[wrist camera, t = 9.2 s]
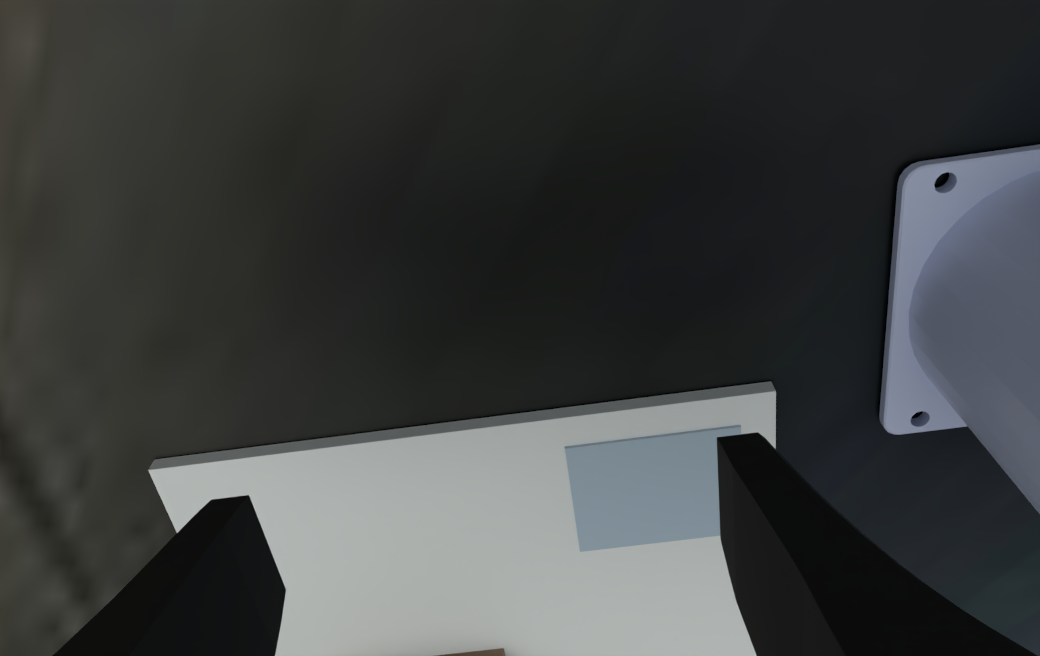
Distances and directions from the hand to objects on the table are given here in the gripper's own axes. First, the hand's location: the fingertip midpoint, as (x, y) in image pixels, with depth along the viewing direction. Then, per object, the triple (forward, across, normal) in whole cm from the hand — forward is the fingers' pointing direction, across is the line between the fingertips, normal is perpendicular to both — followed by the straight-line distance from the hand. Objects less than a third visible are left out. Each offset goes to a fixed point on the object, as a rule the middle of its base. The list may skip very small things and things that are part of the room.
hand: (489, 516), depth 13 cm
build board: (+10, +2, +13) cm, 16 cm away
